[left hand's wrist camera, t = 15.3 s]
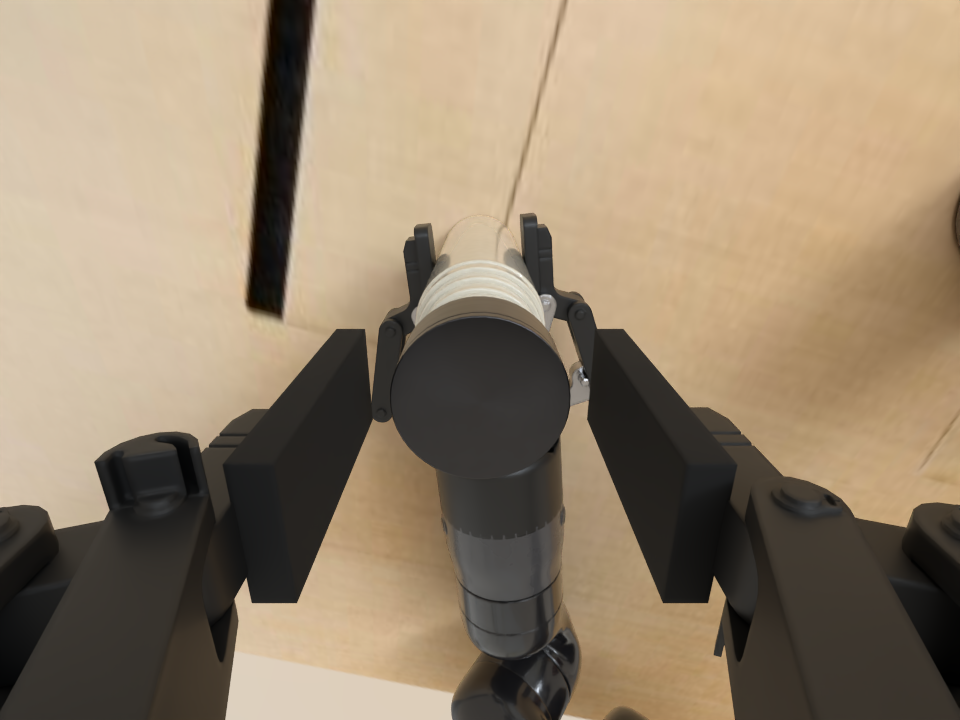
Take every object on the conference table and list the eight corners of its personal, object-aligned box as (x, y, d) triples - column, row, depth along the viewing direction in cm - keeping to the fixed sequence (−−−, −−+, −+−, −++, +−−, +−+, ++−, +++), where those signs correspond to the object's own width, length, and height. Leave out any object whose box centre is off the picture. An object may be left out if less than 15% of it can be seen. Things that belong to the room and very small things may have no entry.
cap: (425, 273, 13) (416, 291, 12) (584, 324, 14) (599, 348, 12) (383, 418, 15) (370, 453, 13) (527, 459, 15) (534, 497, 14)
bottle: (530, 238, 33) (608, 362, 13) (493, 300, 34) (511, 498, 14) (466, 200, 32) (442, 269, 12) (431, 266, 33) (358, 424, 13)
